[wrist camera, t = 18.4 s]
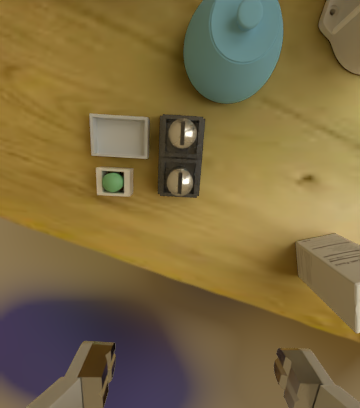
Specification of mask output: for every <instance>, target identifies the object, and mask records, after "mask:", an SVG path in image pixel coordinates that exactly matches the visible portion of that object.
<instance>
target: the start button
mask: <svg viewBox="0 0 360 408" xmlns="http://www.w3.org/2000/svg"><path fill="white" fill-rule="evenodd" d="M102 185H103V187H104V188H105V189H106V190H107V191H109V192H116V191H118V190H120V189H121V188H123V187H124V176H123V175H122V174H121V173H118V172H113V173H109V174H106V175H105V176H104V177H103V180H102Z"/></svg>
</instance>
